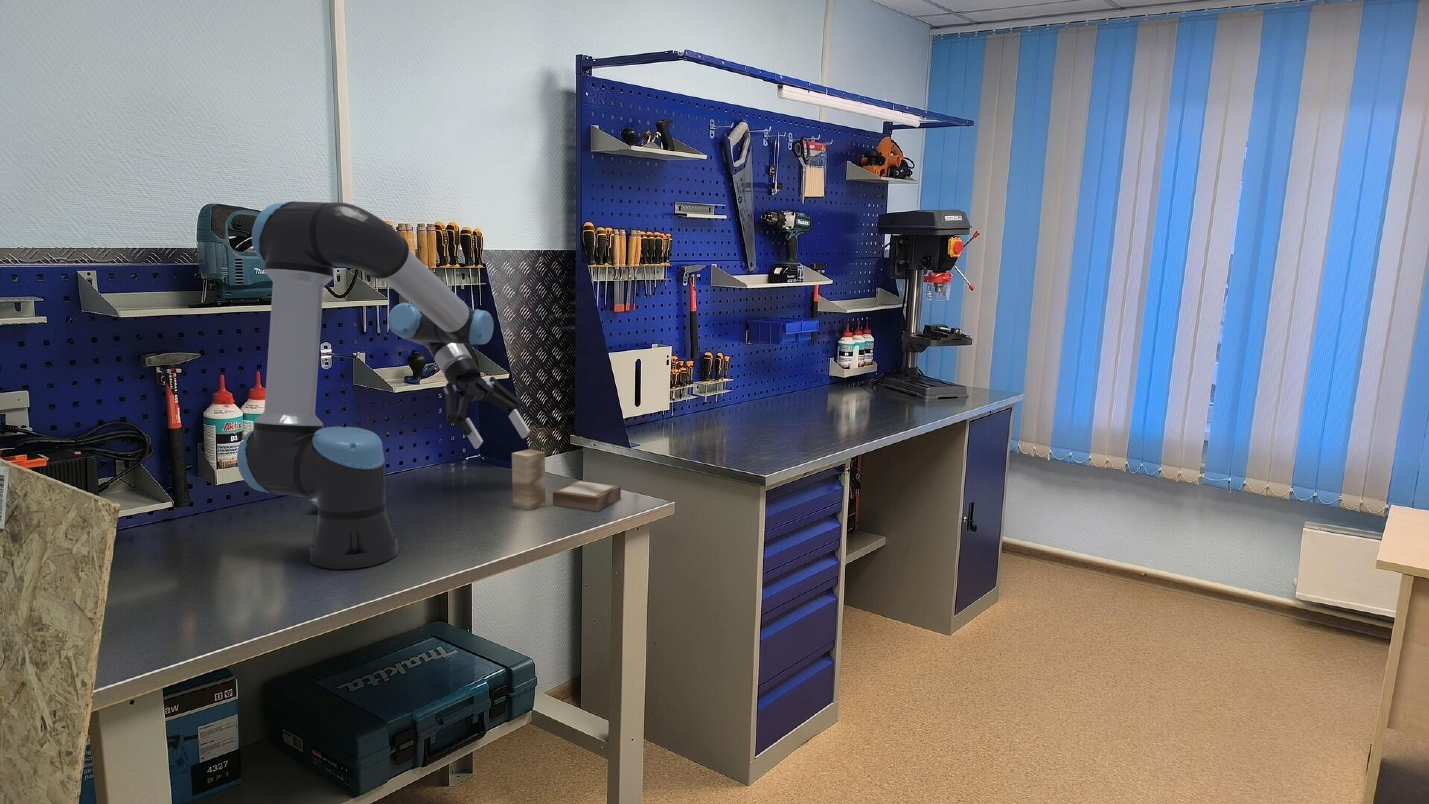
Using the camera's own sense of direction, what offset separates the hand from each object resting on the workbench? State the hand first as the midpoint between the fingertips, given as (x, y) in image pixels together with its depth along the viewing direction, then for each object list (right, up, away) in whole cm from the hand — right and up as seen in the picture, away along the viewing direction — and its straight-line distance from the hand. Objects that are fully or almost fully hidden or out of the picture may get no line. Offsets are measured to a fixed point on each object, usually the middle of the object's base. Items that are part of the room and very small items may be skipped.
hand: (503, 440), depth 210 cm
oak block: (+6, -14, -4) cm, 16 cm away
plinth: (+19, -14, 0) cm, 23 cm away
